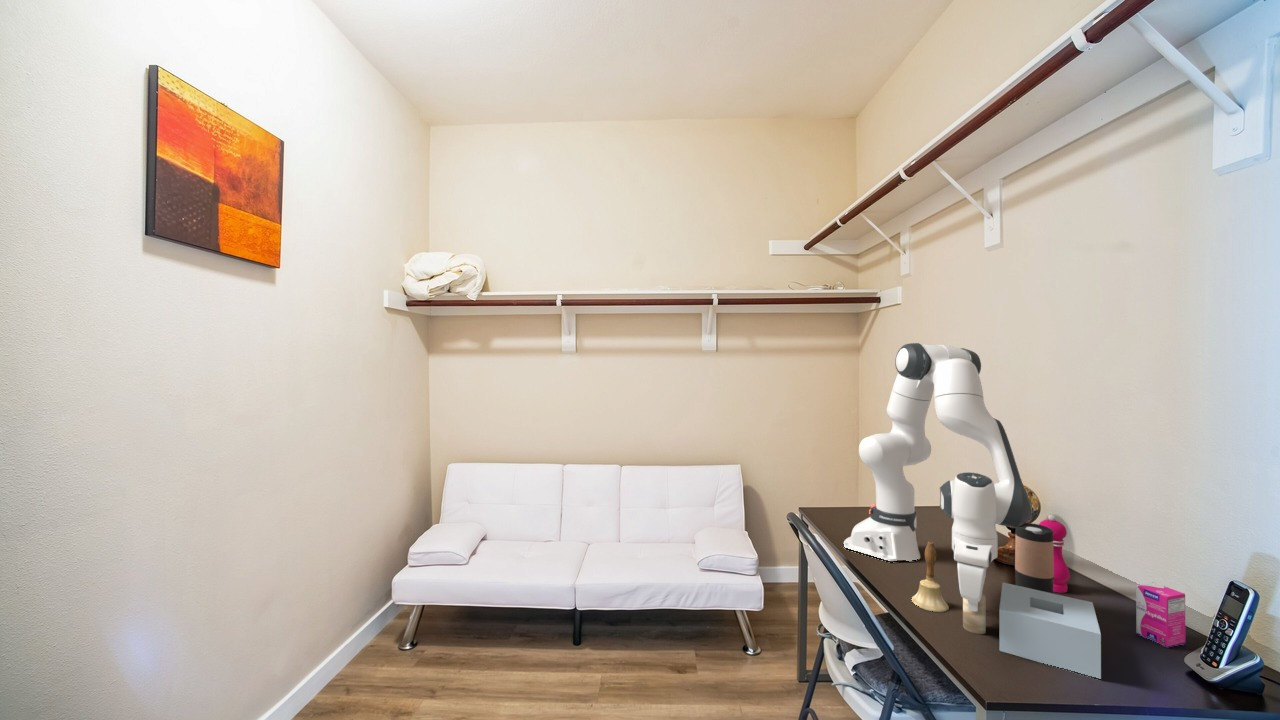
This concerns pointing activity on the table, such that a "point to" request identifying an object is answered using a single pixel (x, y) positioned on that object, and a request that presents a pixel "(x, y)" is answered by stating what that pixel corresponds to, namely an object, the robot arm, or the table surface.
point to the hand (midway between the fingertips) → (974, 604)
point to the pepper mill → (1058, 554)
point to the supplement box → (1160, 614)
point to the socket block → (1050, 629)
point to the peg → (975, 617)
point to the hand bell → (930, 586)
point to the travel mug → (1034, 557)
